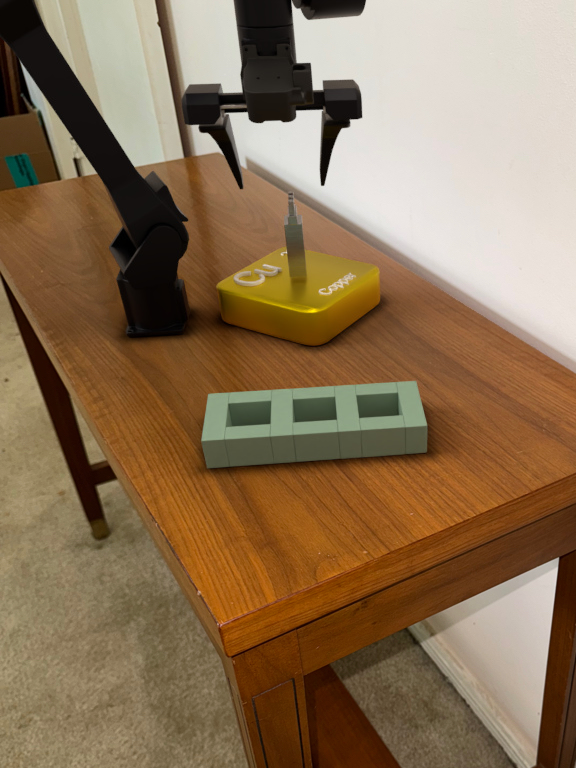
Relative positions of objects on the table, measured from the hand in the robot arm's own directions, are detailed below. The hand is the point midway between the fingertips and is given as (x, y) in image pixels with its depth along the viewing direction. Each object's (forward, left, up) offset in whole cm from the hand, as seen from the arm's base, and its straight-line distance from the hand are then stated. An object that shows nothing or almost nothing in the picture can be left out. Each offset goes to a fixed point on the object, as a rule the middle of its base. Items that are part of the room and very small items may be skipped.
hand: (282, 186), depth 87 cm
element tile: (+1, -4, -13) cm, 14 cm away
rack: (+2, -32, -13) cm, 35 cm away
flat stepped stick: (+1, -4, -8) cm, 9 cm away
